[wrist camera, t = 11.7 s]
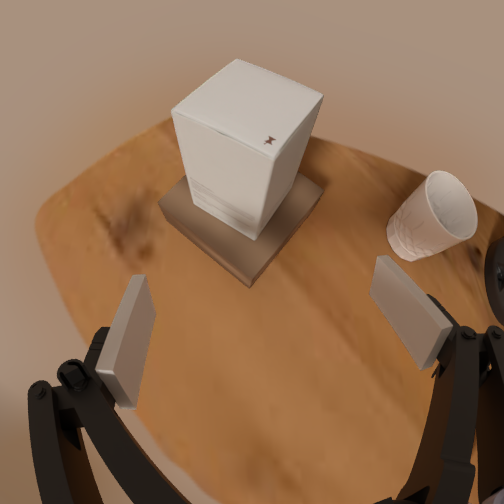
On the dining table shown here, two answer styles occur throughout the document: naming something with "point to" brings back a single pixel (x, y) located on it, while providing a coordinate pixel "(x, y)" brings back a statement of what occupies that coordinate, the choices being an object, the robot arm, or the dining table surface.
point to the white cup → (432, 218)
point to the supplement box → (244, 142)
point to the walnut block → (232, 241)
